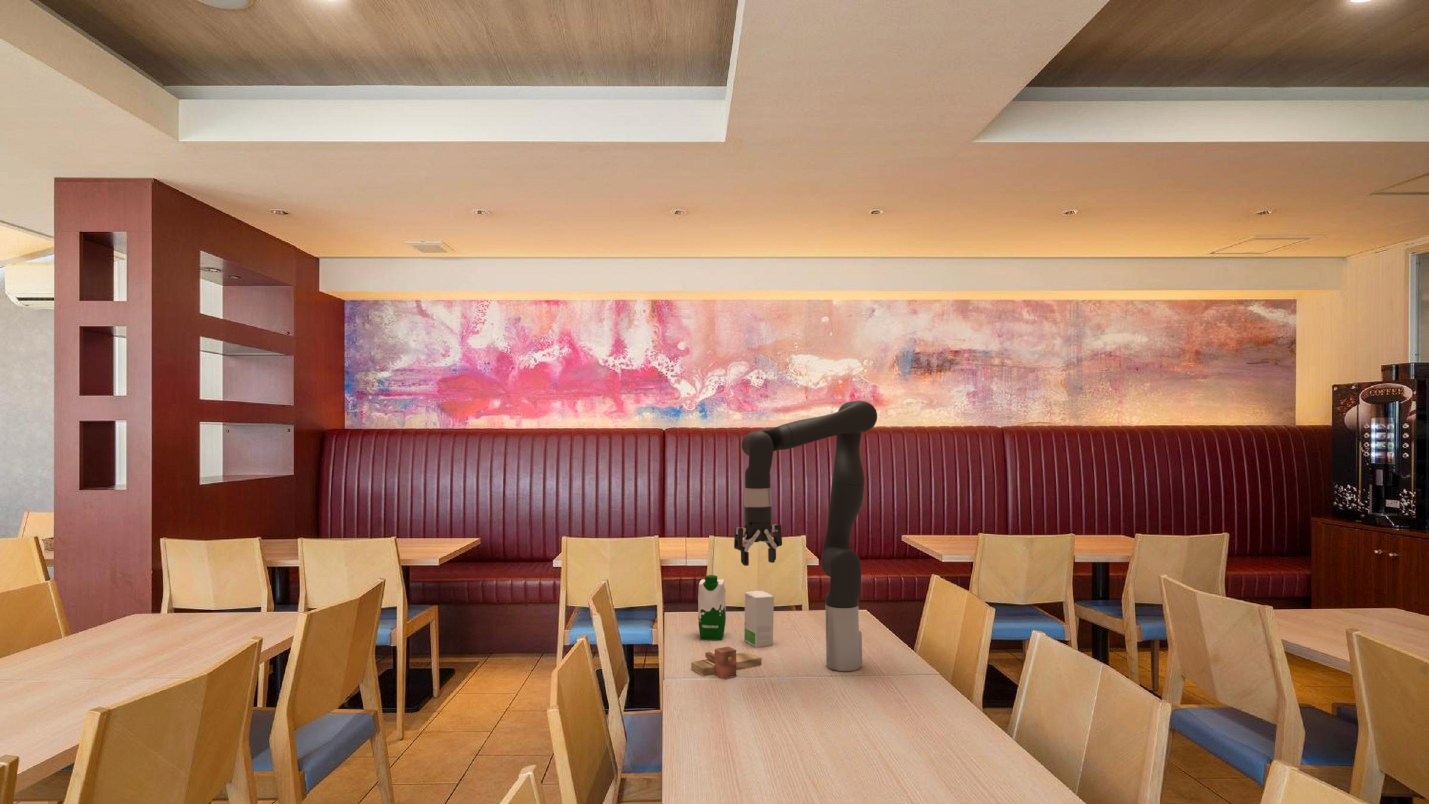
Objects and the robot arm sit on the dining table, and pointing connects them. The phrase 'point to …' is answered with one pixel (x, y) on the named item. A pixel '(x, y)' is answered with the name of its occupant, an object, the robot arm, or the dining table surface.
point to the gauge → (723, 661)
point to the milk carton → (711, 608)
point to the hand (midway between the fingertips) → (758, 563)
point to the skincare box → (759, 618)
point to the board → (742, 662)
